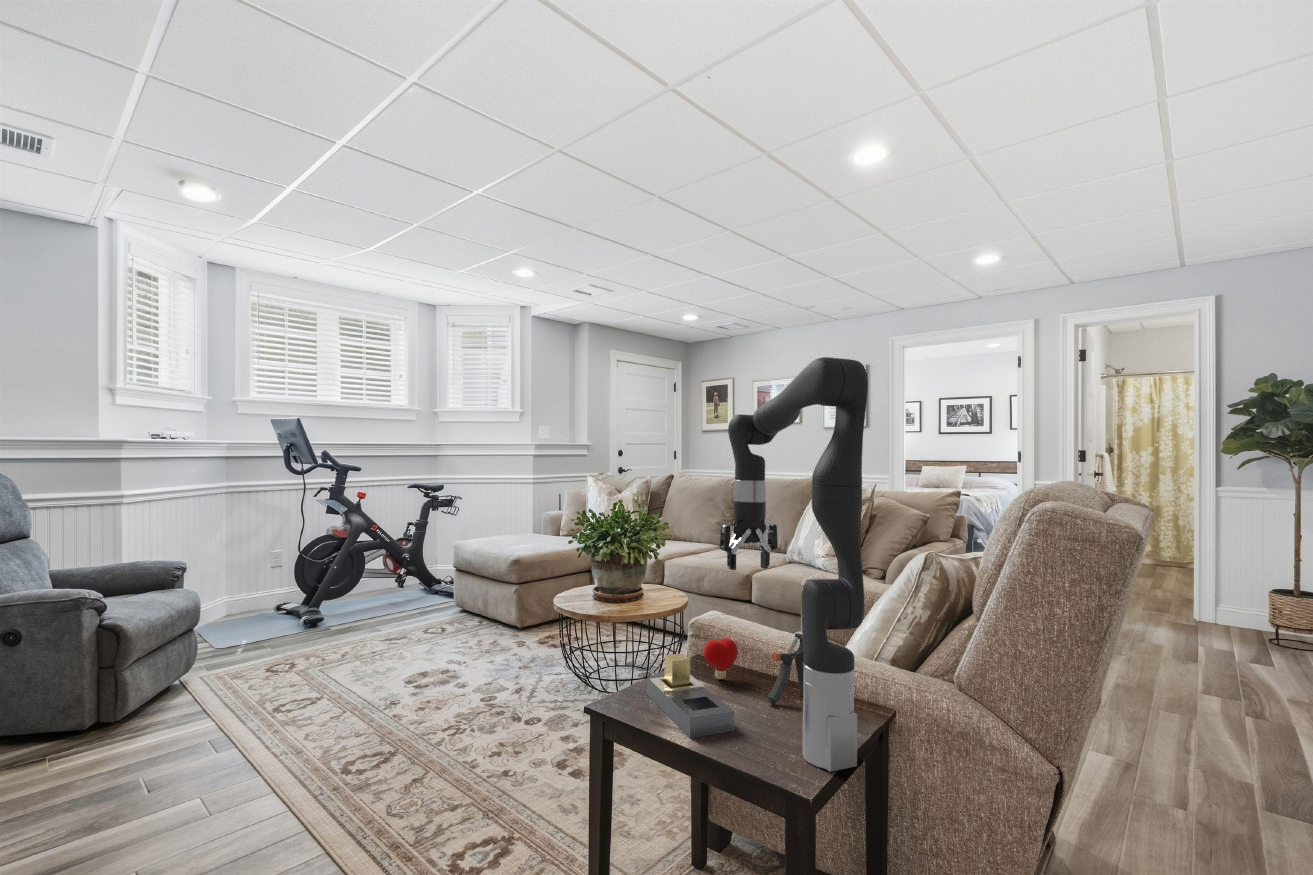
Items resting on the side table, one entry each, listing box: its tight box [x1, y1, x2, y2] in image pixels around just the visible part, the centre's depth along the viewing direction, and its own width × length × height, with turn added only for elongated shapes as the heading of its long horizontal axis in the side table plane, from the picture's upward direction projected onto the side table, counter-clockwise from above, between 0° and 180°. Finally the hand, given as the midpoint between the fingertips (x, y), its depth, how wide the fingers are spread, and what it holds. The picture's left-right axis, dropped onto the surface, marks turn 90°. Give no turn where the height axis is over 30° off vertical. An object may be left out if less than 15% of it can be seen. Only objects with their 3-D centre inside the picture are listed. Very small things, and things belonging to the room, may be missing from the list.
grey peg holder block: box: [646, 674, 736, 739], centre depth 136 cm, size 24×10×4 cm, turn 22°
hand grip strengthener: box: [766, 632, 804, 706], centre depth 143 cm, size 2×13×15 cm, turn 123°
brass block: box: [663, 653, 691, 688], centre depth 141 cm, size 4×4×10 cm
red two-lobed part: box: [703, 637, 739, 681], centre depth 156 cm, size 9×7×10 cm
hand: (748, 568), depth 144 cm, fingers open, 8 cm apart
